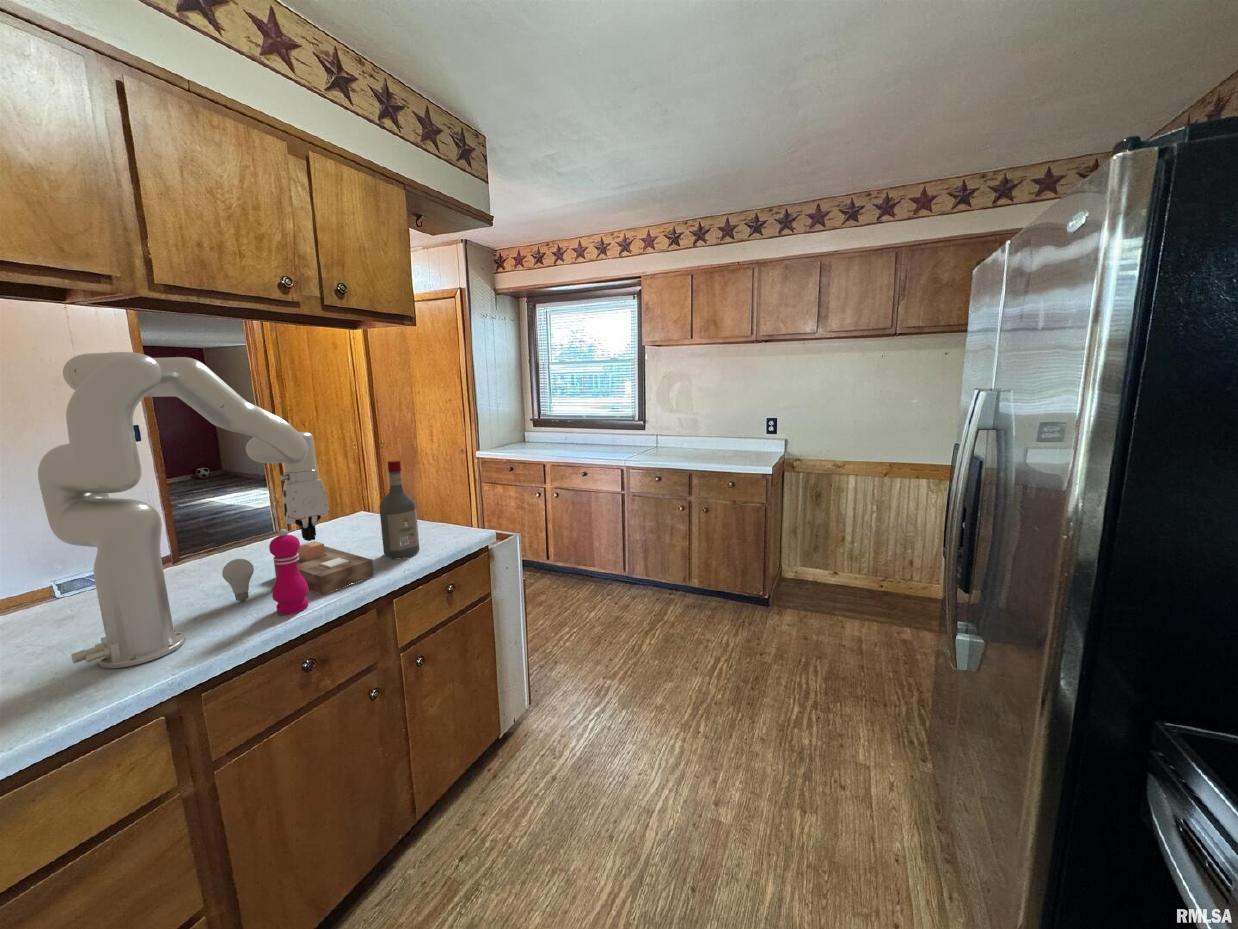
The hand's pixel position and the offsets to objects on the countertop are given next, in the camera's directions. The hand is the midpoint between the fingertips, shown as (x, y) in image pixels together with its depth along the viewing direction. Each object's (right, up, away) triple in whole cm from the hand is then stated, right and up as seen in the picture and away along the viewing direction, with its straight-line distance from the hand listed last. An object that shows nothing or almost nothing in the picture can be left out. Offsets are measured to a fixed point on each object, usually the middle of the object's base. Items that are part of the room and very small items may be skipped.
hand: (309, 539), depth 137 cm
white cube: (+10, -10, -5) cm, 15 cm away
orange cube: (0, -6, +1) cm, 6 cm away
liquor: (+19, -7, +17) cm, 26 cm away
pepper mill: (+10, -14, -21) cm, 27 cm away
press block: (+5, -10, -1) cm, 12 cm away
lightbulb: (-6, -13, -17) cm, 22 cm away
